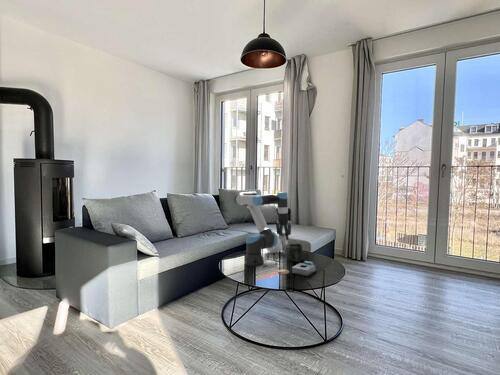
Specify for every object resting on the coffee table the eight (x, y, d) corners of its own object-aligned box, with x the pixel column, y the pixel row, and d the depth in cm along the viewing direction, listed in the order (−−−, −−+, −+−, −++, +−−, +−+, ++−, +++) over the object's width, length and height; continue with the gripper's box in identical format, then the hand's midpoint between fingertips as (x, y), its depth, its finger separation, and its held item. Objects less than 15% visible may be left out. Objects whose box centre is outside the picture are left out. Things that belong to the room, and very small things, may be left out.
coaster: (275, 272, 207) (275, 272, 207) (281, 269, 213) (281, 268, 213) (285, 274, 202) (285, 274, 202) (291, 271, 208) (291, 270, 208)
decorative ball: (288, 251, 261) (287, 229, 260) (280, 256, 246) (279, 233, 245) (268, 249, 271) (268, 228, 270) (260, 253, 257) (259, 231, 256)
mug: (304, 261, 230) (304, 246, 230) (286, 262, 229) (286, 247, 228) (300, 257, 241) (300, 243, 240) (283, 258, 240) (283, 244, 239)
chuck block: (292, 272, 205) (291, 265, 205) (302, 266, 217) (302, 260, 217) (307, 276, 198) (307, 268, 197) (317, 269, 209) (316, 262, 209)
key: (280, 250, 215) (279, 233, 214) (284, 248, 220) (284, 231, 219) (283, 251, 213) (283, 233, 212) (288, 249, 218) (287, 232, 217)
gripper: (271, 212, 217) (272, 243, 218) (289, 214, 207) (291, 246, 208) (276, 211, 223) (277, 241, 224) (295, 212, 213) (296, 244, 214)
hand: (284, 243), depth 216 cm, fingers closed on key, 3 cm apart
